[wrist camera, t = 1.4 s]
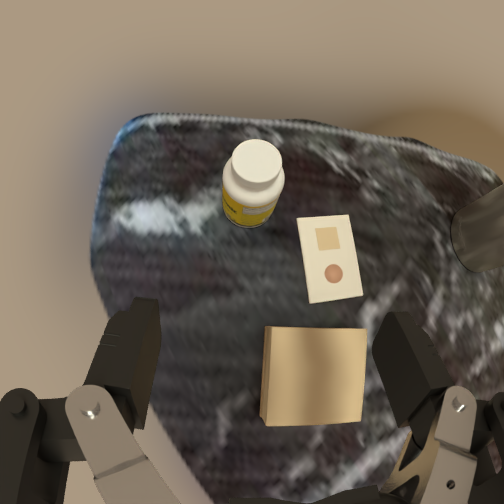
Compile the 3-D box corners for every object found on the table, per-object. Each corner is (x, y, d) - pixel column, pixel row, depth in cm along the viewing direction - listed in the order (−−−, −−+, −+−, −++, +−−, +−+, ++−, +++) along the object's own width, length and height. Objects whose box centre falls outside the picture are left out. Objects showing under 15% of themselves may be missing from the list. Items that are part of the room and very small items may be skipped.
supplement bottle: (219, 185, 34) (219, 134, 24) (268, 180, 35) (284, 129, 25) (225, 232, 33) (227, 194, 23) (277, 226, 33) (298, 187, 24)
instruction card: (347, 215, 34) (348, 214, 34) (361, 295, 32) (363, 295, 32) (296, 219, 34) (297, 217, 33) (309, 303, 32) (310, 303, 31)
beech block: (351, 328, 32) (368, 327, 28) (346, 412, 29) (361, 421, 26) (264, 326, 31) (271, 325, 27) (259, 415, 29) (264, 427, 25)
